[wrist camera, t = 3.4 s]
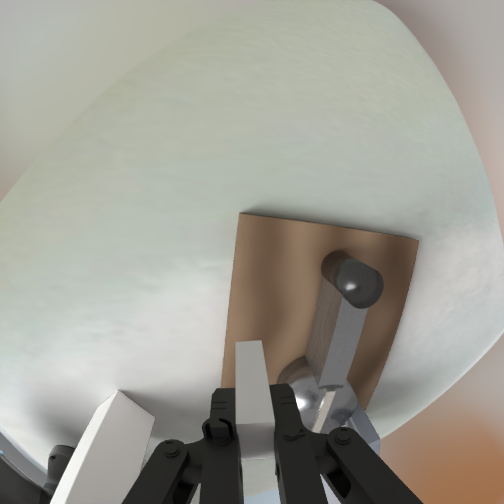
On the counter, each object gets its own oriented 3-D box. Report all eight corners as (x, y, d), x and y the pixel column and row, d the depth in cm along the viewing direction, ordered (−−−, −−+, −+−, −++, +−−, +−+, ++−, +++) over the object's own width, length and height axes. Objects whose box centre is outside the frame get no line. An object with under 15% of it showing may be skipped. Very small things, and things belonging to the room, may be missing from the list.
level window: (346, 431, 29) (365, 473, 22) (342, 399, 28) (365, 445, 20) (364, 424, 29) (386, 464, 22) (363, 390, 28) (390, 434, 20)
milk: (132, 432, 29) (93, 562, 8) (97, 406, 28) (36, 533, 7) (156, 417, 29) (119, 568, 7) (118, 388, 28) (51, 537, 6)
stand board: (218, 417, 29) (217, 428, 27) (239, 212, 24) (239, 214, 23) (354, 415, 31) (359, 424, 29) (410, 238, 26) (420, 241, 24)
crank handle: (330, 403, 27) (347, 439, 22) (271, 405, 27) (278, 445, 21) (373, 254, 24) (408, 272, 18) (301, 246, 23) (323, 263, 18)
